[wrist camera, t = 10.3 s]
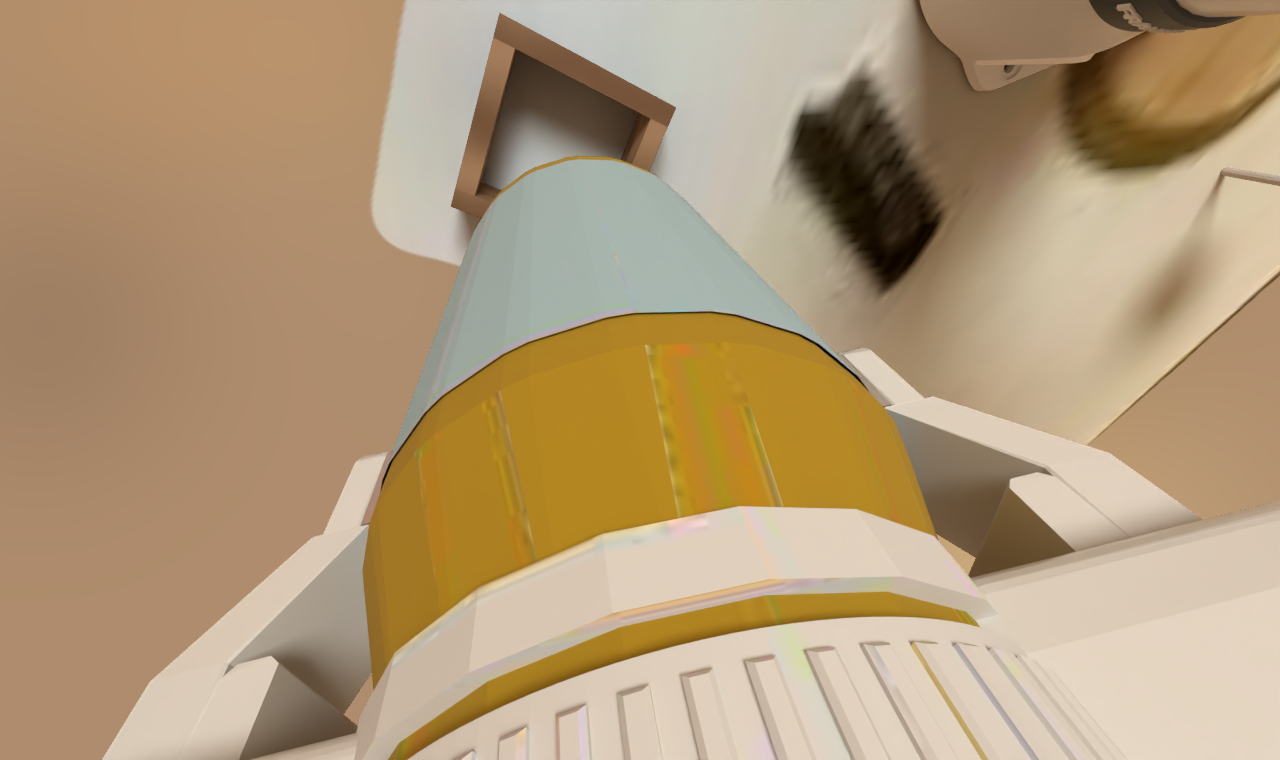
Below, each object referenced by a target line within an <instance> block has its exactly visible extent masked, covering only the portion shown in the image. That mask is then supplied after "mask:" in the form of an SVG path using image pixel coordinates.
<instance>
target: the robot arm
mask: <svg viewBox="0 0 1280 760" xmlns="http://www.w3.org/2000/svg"><path fill="white" fill-rule="evenodd" d="M920 4H921V8H922V11H923V14H924V17H925V19H926V21H927V23H928V25H929V27H930V29H931V30H932V32H933V33H934V35H935V36H936V37H937V38H938V39H939V40H940V41H941V42H942V43H943V44H944V45H945V46H946V47H948V48H949V49H950V50H951V51H953V52H954V53H955V54H956V55H957V56H958V57H959V58H960V60H961V61H962V64H963V67H964V70H965V73H966V76H967V79H968V81H969V83H970V85H971V86H972V88H973V89H974V90H976V91H991V90H995V89H997V88H1000V87H1002V86H1005V85H1007V84H1010V83H1012V82H1015V81H1017V80H1019V79H1022V78H1024V77H1027V76H1029V75H1032V74H1034V73H1037V72H1039V71H1041V70H1044V69H1046V68H1049V67H1051V66H1054V65H1056V64H1065V63H1080V62H1085V61H1088V60H1090V59H1091V58H1092V56H1093V55H1094V54H1095V53H1098V52H1101V51H1104V50H1107V49H1109V48H1112V47H1114V46H1116V45H1118V44H1120V43H1123V42H1125V41H1127V40H1129V39H1131V38H1133V37H1135V36H1137V35H1139V34H1141V33H1143V32H1145V31H1148V32H1153V33H1176V32H1184V31H1185V30H1196V29H1200V28H1210V27H1217V26H1220V25H1224V24H1227V23H1231V22H1234V21H1236V20H1238V19H1240V18H1243V17H1245V16H1257V15H1278V14H1280V0H920ZM1005 65H1007V67H1006V69H1005V70H1004V66H1005ZM837 355H838V356H839V357H840V358H841V359H842V360H843V361H844V362H845V363H846V364H847V365H848V367H849V368H850V369H851V370H852V371H853V372H854V373H855V374H856V375H857V376H858V377H859V378H860V379H861V381H862V382H863V383H864V385H865V386H866V387H867V389H868V390H869V392H870V393H871V395H872V396H873V397H874V398H875V399H876V400H877V401H878V402H879V403H880V404H881V405H882V406H883V407H884V408H885V409H886V411H887V412H888V413H889V415H890V416H891V417H892V419H893V420H894V421H895V424H896V426H897V429H898V431H899V434H900V436H901V439H902V441H903V443H904V446H905V448H906V451H907V453H908V456H909V458H910V461H911V464H912V467H913V469H914V472H915V475H916V478H917V481H918V484H919V487H920V489H921V492H922V495H923V498H924V501H925V504H926V507H927V509H928V512H929V515H930V518H931V521H932V524H933V527H934V529H935V532H936V534H938V535H940V536H941V537H943V538H944V539H946V540H948V541H949V542H951V543H952V544H954V545H956V546H957V547H959V548H961V549H962V550H964V551H966V552H967V553H969V554H970V555H972V556H974V557H975V558H976V559H975V561H974V564H973V566H972V568H971V570H970V573H969V575H968V576H969V577H970V579H971V580H972V582H973V583H974V584H975V585H976V587H977V588H978V589H979V590H980V592H981V593H982V594H983V595H984V597H985V598H986V599H987V600H988V602H989V603H990V604H991V605H992V606H993V608H994V609H995V610H996V611H997V613H998V614H999V615H997V616H993V617H989V618H985V619H981V620H977V621H976V622H977V624H978V625H979V626H980V628H984V629H987V630H989V631H992V632H995V633H997V634H1000V635H1002V636H1004V637H1006V638H1008V639H1010V640H1011V641H1013V642H1015V643H1016V644H1018V645H1019V646H1020V647H1021V648H1022V650H1023V651H1024V652H1025V653H1026V655H1027V656H1028V657H1029V658H1031V659H1033V660H1036V661H1038V663H1039V664H1040V665H1042V666H1045V667H1047V668H1050V669H1052V670H1053V671H1054V672H1055V673H1056V674H1057V675H1058V677H1059V678H1060V679H1061V680H1062V681H1063V683H1064V684H1065V685H1066V686H1067V687H1068V689H1069V690H1070V691H1071V692H1072V693H1073V695H1074V696H1075V697H1076V698H1077V699H1078V701H1079V702H1080V703H1081V704H1082V705H1083V707H1084V708H1085V709H1086V710H1087V712H1088V713H1089V714H1090V715H1091V716H1092V718H1093V719H1094V720H1095V721H1096V722H1097V724H1098V725H1099V726H1100V727H1101V728H1102V730H1103V731H1104V732H1105V733H1106V734H1107V736H1108V737H1109V738H1110V739H1111V740H1112V742H1113V743H1114V744H1115V745H1116V746H1117V748H1118V749H1119V750H1120V751H1121V752H1122V754H1123V755H1124V756H1125V757H1126V759H1127V760H1280V501H1276V502H1271V503H1267V504H1263V505H1259V506H1256V507H1251V508H1248V509H1244V510H1240V511H1236V512H1232V513H1228V514H1224V515H1220V516H1216V517H1212V518H1208V519H1204V520H1202V519H1201V518H1200V517H1199V516H1197V515H1195V514H1194V513H1193V512H1191V511H1190V510H1189V509H1187V508H1186V507H1184V506H1183V505H1182V504H1180V503H1179V502H1177V501H1176V500H1174V499H1173V498H1172V497H1170V496H1169V495H1167V494H1166V493H1165V492H1163V491H1162V490H1161V489H1159V488H1158V487H1156V486H1155V485H1154V484H1152V483H1151V482H1149V481H1148V480H1147V479H1145V478H1144V477H1142V476H1141V475H1139V474H1138V473H1137V472H1135V471H1134V470H1132V469H1131V468H1130V467H1128V466H1127V465H1126V464H1124V463H1123V462H1121V461H1120V460H1118V459H1117V458H1116V457H1114V456H1113V455H1111V454H1110V453H1108V452H1104V451H1101V450H1098V449H1095V448H1092V447H1089V446H1086V445H1083V444H1080V443H1077V442H1073V441H1070V440H1067V439H1064V438H1061V437H1058V436H1055V435H1052V434H1049V433H1045V432H1042V431H1039V430H1036V429H1033V428H1030V427H1027V426H1024V425H1021V424H1018V423H1014V422H1011V421H1008V420H1005V419H1002V418H999V417H996V416H993V415H990V414H986V413H983V412H980V411H977V410H974V409H971V408H968V407H965V406H962V405H959V404H955V403H952V402H949V401H946V400H943V399H940V398H937V397H934V396H933V397H929V398H924V397H923V396H922V395H920V394H919V393H918V392H917V391H916V390H915V389H914V388H913V387H912V386H910V385H909V384H908V383H907V382H906V381H905V380H904V379H903V378H902V377H900V376H899V375H898V374H897V373H896V372H895V371H894V370H893V369H892V368H890V367H889V366H888V365H887V364H886V363H885V362H884V361H883V360H882V359H880V358H879V357H878V356H877V355H876V354H875V353H874V352H873V351H872V350H870V349H867V348H864V347H862V348H858V349H854V350H850V351H846V352H842V353H838V354H837ZM392 452H393V451H391V452H384V453H379V454H374V455H369V456H365V457H362V458H360V459H359V460H358V461H356V462H355V464H354V466H353V468H352V471H351V473H350V475H349V477H348V480H347V482H346V484H345V486H344V489H343V491H342V493H341V495H340V498H339V500H338V502H337V504H336V506H335V509H334V511H333V513H332V515H331V518H330V520H329V522H328V524H327V527H326V529H325V531H324V533H323V535H320V536H316V537H312V538H311V539H310V540H309V541H308V542H307V543H306V544H305V545H303V546H302V547H301V548H300V549H299V550H298V551H297V552H295V553H294V554H293V555H292V556H291V557H290V558H289V559H288V560H286V561H285V562H284V563H283V564H282V565H281V566H280V567H279V568H277V569H276V570H275V571H274V572H273V573H272V574H271V575H270V576H269V577H267V578H266V579H265V580H264V581H263V582H262V583H261V584H260V585H258V586H257V587H256V588H255V589H254V590H253V591H252V592H250V594H248V595H247V596H246V597H245V598H244V599H243V600H241V601H240V602H239V603H238V604H237V605H236V606H235V607H234V608H233V609H231V610H230V611H229V612H228V613H227V614H226V615H225V616H223V617H222V618H221V619H220V620H219V621H218V622H217V623H216V624H215V625H213V626H212V627H211V628H210V629H209V630H208V631H207V632H206V633H204V634H203V635H202V636H201V637H200V638H199V639H198V640H197V641H195V642H194V643H193V644H192V645H191V646H190V647H189V648H187V649H186V650H185V651H184V652H183V653H182V654H181V655H180V656H178V657H177V658H176V659H175V660H174V661H173V662H172V663H171V664H169V665H168V666H167V667H166V668H165V669H164V670H163V671H162V672H160V673H159V674H158V675H157V676H156V677H155V678H154V679H153V680H151V681H150V683H149V684H148V686H147V688H146V689H145V691H144V692H143V694H142V696H141V697H140V699H139V701H138V702H137V704H136V705H135V707H134V709H133V710H132V712H131V713H130V715H129V717H128V718H127V720H126V722H125V723H124V725H123V726H122V728H121V730H120V732H119V733H118V735H117V736H116V738H115V740H114V741H113V743H112V744H111V746H110V748H109V749H108V751H107V753H106V754H105V756H104V758H103V759H102V760H354V757H355V753H356V747H357V740H358V735H357V733H356V731H357V727H358V726H357V725H356V724H355V723H353V722H352V721H351V720H350V719H348V718H347V717H346V716H345V715H343V714H344V713H345V712H346V710H347V709H348V707H349V706H350V704H351V703H352V701H353V700H354V698H355V697H356V695H357V694H358V692H359V691H360V689H361V688H362V686H363V685H364V683H365V682H366V680H367V679H368V677H369V676H370V674H371V673H372V668H371V657H370V647H369V636H368V626H367V615H366V604H365V594H364V583H363V573H362V569H363V563H364V556H365V550H366V543H367V536H368V530H369V523H370V520H371V517H372V514H373V512H374V509H375V506H376V503H377V501H378V498H379V495H380V490H381V484H382V479H383V477H384V474H385V471H386V468H387V466H388V463H389V460H390V457H391V455H392Z"/></svg>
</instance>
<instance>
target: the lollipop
mask: <svg viewBox="0 0 1280 760" xmlns="http://www.w3.org/2000/svg"><path fill="white" fill-rule="evenodd" d="M1221 175H1224V176H1229V177H1234V178H1240V179H1245V180H1251V181H1256V182H1261V183H1267V184H1272V185H1278V186H1280V176H1274V175H1269V174H1263V173H1257V172H1251V171H1245V170H1240V169H1234V168H1228V167H1227V168H1225V169H1223V170H1222V172H1221Z"/></svg>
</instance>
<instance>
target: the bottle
mask: <svg viewBox="0 0 1280 760" xmlns="http://www.w3.org/2000/svg"><path fill="white" fill-rule="evenodd" d="M362 573H363V583H364V594H365V604H366V615H367V626H368V636H369V647H370V657H371V668H372V678H373V688H374V691H373V693H372V695H371V697H370V698H369V700H368V702H367V704H366V706H365V708H364V709H363V711H362V713H361V716H360V720H359V723H358V727H357V731H356V733H357V735H358V740H357V747H356V753H355V757H354V760H1127V759H1126V757H1125V756H1124V755H1123V754H1122V752H1121V751H1120V750H1119V749H1118V748H1117V746H1116V745H1115V744H1114V743H1113V742H1112V740H1111V739H1110V738H1109V737H1108V736H1107V734H1106V733H1105V732H1104V731H1103V730H1102V728H1101V727H1100V726H1099V725H1098V724H1097V722H1096V721H1095V720H1094V719H1093V718H1092V716H1091V715H1090V714H1089V713H1088V712H1087V710H1086V709H1085V708H1084V707H1083V705H1082V704H1081V703H1080V702H1079V701H1078V699H1077V698H1076V697H1075V696H1074V695H1073V693H1072V692H1071V691H1070V690H1069V689H1068V687H1067V686H1066V685H1065V684H1064V683H1063V681H1062V680H1061V679H1060V678H1059V677H1058V675H1057V674H1056V673H1055V672H1054V671H1053V670H1052V669H1050V668H1047V667H1045V666H1042V665H1040V664H1039V663H1038V661H1036V660H1033V659H1031V658H1029V657H1028V656H1027V655H1026V653H1025V652H1024V651H1023V650H1022V648H1021V647H1020V646H1019V645H1018V644H1016V643H1015V642H1013V641H1011V640H1010V639H1008V638H1006V637H1004V636H1002V635H1000V634H997V633H995V632H992V631H989V630H987V629H984V628H980V626H979V625H978V624H977V622H976V621H977V620H981V619H985V618H989V617H993V616H997V615H999V614H998V613H997V611H996V610H995V609H994V608H993V606H992V605H991V604H990V603H989V602H988V600H987V599H986V598H985V597H984V595H983V594H982V593H981V592H980V590H979V589H978V588H977V587H976V585H975V584H974V583H973V582H972V580H971V579H970V577H969V576H968V574H967V573H966V572H965V571H964V570H963V569H962V567H961V566H960V565H959V564H958V563H957V562H956V561H955V560H954V558H953V557H952V556H951V555H950V554H949V553H948V552H947V551H946V549H945V548H944V547H943V546H942V545H941V543H940V542H939V541H938V538H937V535H936V532H935V529H934V527H933V524H932V521H931V518H930V515H929V512H928V509H927V507H926V504H925V501H924V498H923V495H922V492H921V489H920V487H919V484H918V481H917V478H916V475H915V472H914V469H913V467H912V464H911V461H910V458H909V456H908V453H907V451H906V448H905V446H904V443H903V441H902V439H901V436H900V434H899V431H898V429H897V426H896V424H895V421H894V420H893V419H892V417H891V416H890V415H889V413H888V412H887V411H886V409H885V408H884V407H883V406H882V405H881V404H880V403H879V402H878V401H877V400H876V399H875V398H874V397H873V396H872V395H871V393H870V392H869V390H868V389H867V387H866V386H865V385H864V383H863V382H862V381H861V379H860V378H859V377H858V376H857V375H856V374H855V373H854V372H853V371H852V370H851V369H850V368H849V367H848V365H847V364H846V363H845V362H844V361H843V360H842V359H841V358H840V357H839V356H838V355H837V354H836V353H835V352H834V351H833V350H832V349H831V348H830V347H829V346H828V345H827V344H826V343H825V342H824V341H823V340H822V339H821V338H820V337H819V336H818V335H817V334H816V333H815V332H814V331H813V330H812V329H811V328H810V327H809V326H808V325H807V324H806V323H805V322H804V321H803V320H802V319H801V318H800V316H799V315H798V314H797V313H796V312H795V311H794V310H793V309H792V308H791V307H790V306H789V305H788V304H787V303H786V302H785V301H784V300H783V299H782V298H781V297H780V296H779V295H778V294H777V293H776V292H775V291H774V290H773V289H772V288H771V287H770V286H769V285H768V284H767V283H766V282H765V281H764V280H763V279H762V278H761V277H760V276H759V275H758V274H757V273H756V272H755V271H754V270H753V269H752V268H751V266H750V265H749V264H748V263H747V262H746V261H745V260H744V259H743V258H742V257H741V256H740V255H739V254H738V253H737V252H736V251H735V250H734V249H733V248H732V247H731V246H730V245H729V244H728V243H727V242H726V241H725V240H724V239H723V238H722V237H721V236H720V235H719V234H718V233H717V232H716V231H715V230H714V229H713V228H712V227H711V226H710V225H709V224H708V223H707V222H706V221H705V220H704V219H703V217H702V216H701V215H700V214H699V213H698V212H697V211H696V210H695V209H694V208H693V207H692V206H691V205H690V204H689V203H688V202H687V201H686V200H685V199H684V198H683V197H681V196H680V195H679V194H678V193H677V192H676V191H674V190H673V189H672V188H671V187H670V186H669V185H668V184H666V183H665V182H664V181H663V180H661V179H660V178H658V177H657V176H656V175H654V174H652V173H651V172H649V171H647V170H645V169H642V168H640V167H637V166H635V165H632V164H630V163H627V162H625V161H622V160H619V159H615V158H610V157H589V156H574V157H567V158H563V159H560V160H557V161H553V162H550V163H547V164H544V165H541V166H538V167H535V168H533V169H531V170H529V171H527V172H525V173H524V174H523V175H521V176H520V177H519V178H518V179H516V180H515V181H514V182H512V183H511V184H510V185H508V186H507V187H506V188H504V189H503V190H502V191H501V192H500V193H499V194H498V195H497V196H496V197H495V198H494V199H493V201H492V202H491V204H490V206H489V207H488V209H487V210H486V212H485V214H484V215H483V217H482V218H481V220H480V221H479V223H478V225H477V227H476V229H475V230H474V232H473V235H472V237H471V240H470V242H469V245H468V248H467V250H466V253H465V256H464V259H463V261H462V264H461V267H460V270H459V272H458V275H457V278H456V281H455V283H454V286H453V289H452V291H451V294H450V297H449V300H448V302H447V305H446V308H445V311H444V314H443V316H442V319H441V321H440V324H439V327H438V329H437V332H436V335H435V338H434V340H433V343H432V346H431V349H430V351H429V354H428V357H427V359H426V362H425V365H424V368H423V370H422V373H421V376H420V378H419V381H418V384H417V387H416V389H415V392H414V395H413V398H412V400H411V403H410V406H409V408H408V411H407V414H406V417H405V419H404V422H403V425H402V427H401V430H400V433H399V436H398V438H397V441H396V444H395V447H394V450H393V452H392V455H391V457H390V460H389V463H388V466H387V468H386V471H385V474H384V477H383V479H382V484H381V490H380V495H379V498H378V501H377V503H376V506H375V509H374V512H373V514H372V517H371V520H370V523H369V530H368V536H367V543H366V550H365V556H364V563H363V569H362Z"/></svg>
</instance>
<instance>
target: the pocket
mask: <svg viewBox="0 0 1280 760" xmlns="http://www.w3.org/2000/svg"><path fill="white" fill-rule="evenodd" d="M517 50H519V51H521V52H523V53H524V54H526V55H528V56H530V57H532V58H534V59H536V60H538V61H540V62H542V63H544V64H546V65H548V66H550V67H552V68H554V69H556V70H557V71H559V72H561V73H563V74H565V75H567V76H569V77H571V78H573V79H575V80H577V81H579V82H581V83H583V84H585V85H587V86H588V87H590V88H592V89H594V90H596V91H598V92H600V93H602V94H604V95H606V96H608V97H610V98H612V99H614V100H616V101H618V102H619V103H621V104H623V105H625V106H627V107H629V108H631V109H633V110H635V111H637V112H639V115H638V118H637V120H636V123H635V125H634V128H633V130H632V133H631V135H630V138H629V140H628V143H627V145H626V148H625V150H624V153H623V155H622V158H621V160H622V161H625V162H627V163H630V164H632V165H635V166H637V167H640V168H642V169H645V170H647V171H649V169H650V167H651V165H652V163H653V160H654V158H655V156H656V153H657V151H658V149H659V146H660V144H661V142H662V139H663V137H664V135H665V132H666V130H667V128H668V125H669V123H670V121H671V118H672V116H673V114H674V111H675V109H676V107H674V106H672V105H670V104H668V103H667V102H665V101H663V100H661V99H659V98H657V97H655V96H654V95H652V94H650V93H648V92H646V91H644V90H642V89H641V88H639V87H637V86H635V85H633V84H631V83H629V82H627V81H626V80H624V79H622V78H620V77H618V76H616V75H614V74H613V73H611V72H609V71H607V70H605V69H603V68H601V67H600V66H598V65H596V64H594V63H592V62H590V61H588V60H587V59H585V58H583V57H581V56H579V55H577V54H575V53H573V52H572V51H570V50H568V49H566V48H564V47H562V46H560V45H559V44H557V43H555V42H553V41H551V40H549V39H547V38H546V37H544V36H542V35H540V34H538V33H536V32H534V31H532V30H531V29H529V28H527V27H525V26H523V25H521V24H519V23H518V22H516V21H514V20H512V19H510V18H508V17H506V16H505V15H503V14H501V13H500V14H499V17H498V21H497V25H496V29H495V33H494V37H493V41H492V45H491V49H490V53H489V57H488V61H487V65H486V69H485V73H484V77H483V81H482V85H481V89H480V93H479V97H478V101H477V105H476V109H475V113H474V117H473V121H472V125H471V129H470V132H469V136H468V140H467V144H466V148H465V152H464V156H463V160H462V164H461V168H460V172H459V176H458V180H457V184H456V188H455V192H454V196H453V200H452V204H451V207H453V208H456V209H459V210H461V211H464V212H467V213H469V214H472V215H475V216H477V217H480V218H482V217H483V215H484V214H485V212H486V210H487V209H488V207H489V206H490V204H491V202H492V201H493V199H494V198H495V197H496V196H497V195H498V194H499V193H500V192H501V191H502V190H499V189H497V188H494V187H492V186H489V185H487V184H484V183H482V182H481V179H482V175H483V172H484V168H485V164H486V161H487V157H488V153H489V150H490V146H491V143H492V139H493V135H494V132H495V128H496V124H497V121H498V117H499V113H500V110H501V106H502V103H503V99H504V95H505V92H506V88H507V84H508V81H509V77H510V73H511V70H512V66H513V62H514V59H515V55H516V52H517Z"/></svg>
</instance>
